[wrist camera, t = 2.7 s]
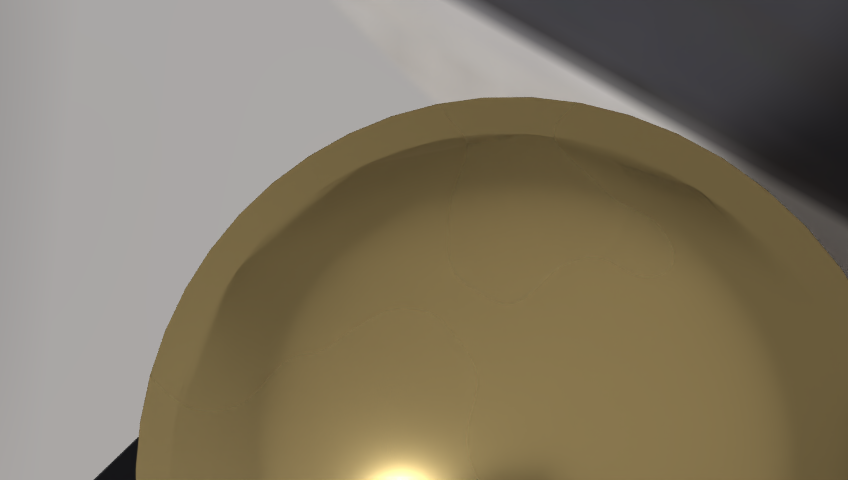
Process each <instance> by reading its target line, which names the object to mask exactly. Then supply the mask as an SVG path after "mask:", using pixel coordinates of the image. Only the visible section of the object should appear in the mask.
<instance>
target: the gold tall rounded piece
mask: <svg viewBox="0 0 848 480" xmlns="http://www.w3.org/2000/svg"><path fill="white" fill-rule="evenodd" d="M136 480H848V279H847V277H846V276H845V274H844V273H843V271H842V269H841V268H840V267H839V266H838V264H837V263H836V262H835V261H834V260H833V258H832V257H831V256H830V255H829V254H828V252H827V251H826V250H825V249H824V248H823V246H822V245H821V244H820V243H819V242H818V240H817V239H816V238H815V237H814V236H813V234H812V233H811V232H810V231H809V230H808V228H807V227H806V226H805V225H804V224H803V223H802V222H801V221H799V220H798V219H797V218H796V217H795V216H794V215H793V214H792V213H791V212H790V211H789V210H788V209H787V208H785V207H784V206H783V205H782V204H781V203H780V202H779V201H778V200H777V199H776V198H775V197H774V196H773V195H771V194H770V193H769V192H768V191H767V190H766V189H765V188H763V187H762V186H761V185H759V184H758V183H756V182H755V181H754V180H752V179H751V178H749V177H748V176H747V175H745V174H744V173H742V172H741V171H740V170H738V169H737V168H735V167H734V166H733V165H731V164H730V163H728V162H727V161H726V160H724V159H723V158H721V157H719V156H717V155H716V154H714V153H712V152H710V151H708V150H706V149H704V148H703V147H701V146H699V145H697V144H695V143H693V142H692V141H690V140H688V139H686V138H684V137H682V136H680V135H679V134H677V133H674V132H672V131H669V130H666V129H664V128H661V127H659V126H656V125H653V124H651V123H648V122H646V121H643V120H641V119H638V118H635V117H633V116H630V115H627V114H623V113H619V112H615V111H611V110H607V109H603V108H599V107H595V106H591V105H586V104H582V103H576V102H568V101H559V100H551V99H542V98H533V97H512V98H478V99H471V100H464V101H456V102H449V103H442V104H436V105H432V106H428V107H424V108H421V109H417V110H413V111H410V112H406V113H402V114H399V115H395V116H391V117H389V118H386V119H384V120H381V121H379V122H377V123H374V124H372V125H369V126H367V127H364V128H362V129H359V130H357V131H354V132H352V133H349V134H348V135H346V136H344V137H342V138H340V139H339V140H337V141H335V142H333V143H332V144H330V145H328V146H326V147H324V148H323V149H321V150H319V151H317V152H316V153H314V154H312V155H310V156H309V157H307V158H306V159H305V160H303V161H302V162H300V163H299V164H298V165H296V166H295V167H294V168H292V169H291V170H290V171H288V172H287V173H286V174H284V175H283V176H282V177H280V178H279V179H277V180H276V181H275V182H273V183H272V184H271V185H270V186H269V187H268V188H267V189H266V190H265V191H264V192H263V193H262V194H261V195H260V196H258V197H257V198H256V199H255V200H254V201H253V202H252V203H251V204H250V205H249V206H248V207H247V208H246V209H245V210H244V211H243V212H242V213H241V214H240V215H239V216H238V217H237V218H236V219H235V220H234V222H233V223H232V224H231V225H230V227H229V228H228V229H227V230H226V232H225V233H224V234H223V235H222V236H221V238H220V239H219V240H218V241H217V242H216V244H215V245H214V246H213V247H212V248H211V250H210V251H209V253H208V254H207V256H206V257H205V259H204V260H203V262H202V264H201V265H200V267H199V268H198V270H197V271H196V273H195V275H194V276H193V278H192V279H191V281H190V283H189V284H188V286H187V287H186V289H185V291H184V293H183V295H182V297H181V299H180V301H179V303H178V305H177V307H176V310H175V312H174V314H173V316H172V318H171V320H170V322H169V324H168V326H167V328H166V331H165V333H164V336H163V339H162V342H161V345H160V348H159V351H158V354H157V357H156V360H155V363H154V365H153V368H152V371H151V374H150V379H149V383H148V388H147V392H146V397H145V402H144V406H143V412H142V416H141V421H140V430H139V441H138V451H137V462H136Z"/></svg>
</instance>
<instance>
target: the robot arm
mask: <svg viewBox="0 0 848 480" xmlns="http://www.w3.org/2000/svg"><path fill="white" fill-rule="evenodd" d="M138 441H139V437H138V438H137V439H136V440H135V441H134V442H132V444H131V445H130V446H128V447H127V448H126V449H125V450H124V451H123V452H122V453H121V454H120V455H119V456H118V457H117V458H116V459H115V460H114V461H113V462H112V463H111V464H110V465H109V466H108V467H106V468H105V469H104V470H103V471H102V472H101V473H100V474H99V475H98V476H97V477H96V478H95V479H94V480H136V462H137V451H138Z"/></svg>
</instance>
